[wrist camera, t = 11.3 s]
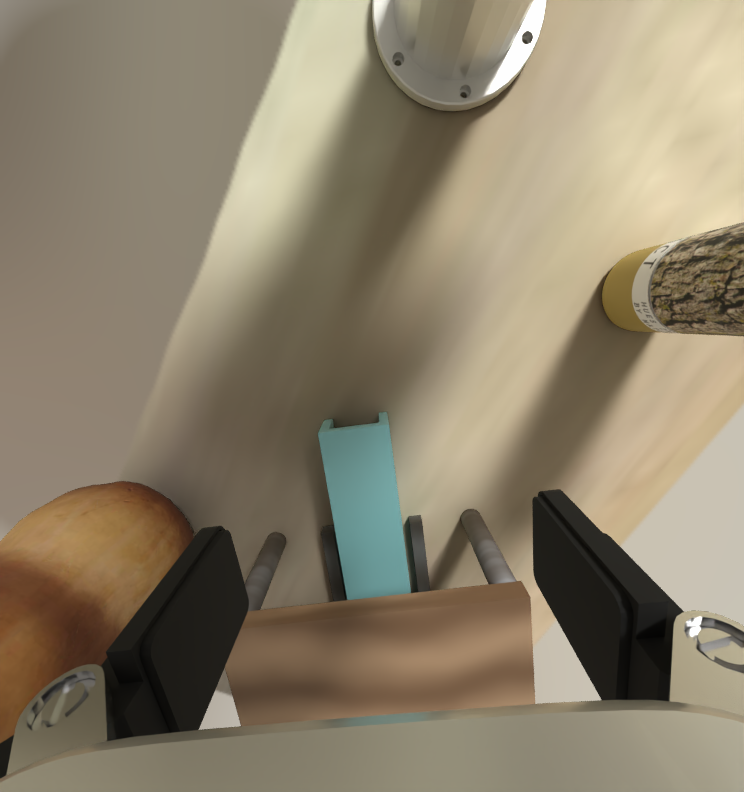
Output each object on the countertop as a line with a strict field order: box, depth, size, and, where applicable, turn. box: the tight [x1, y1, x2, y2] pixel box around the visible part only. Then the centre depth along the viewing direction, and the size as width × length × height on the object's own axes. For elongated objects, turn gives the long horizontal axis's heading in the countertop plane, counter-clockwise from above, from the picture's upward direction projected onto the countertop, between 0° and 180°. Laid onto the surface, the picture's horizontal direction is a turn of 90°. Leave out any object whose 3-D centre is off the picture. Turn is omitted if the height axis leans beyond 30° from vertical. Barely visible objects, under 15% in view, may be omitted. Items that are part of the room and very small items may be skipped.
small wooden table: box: [225, 509, 535, 726], centre depth 31 cm, size 13×22×12 cm, turn 98°
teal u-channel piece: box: [318, 412, 411, 600], centre depth 33 cm, size 22×6×4 cm, turn 8°
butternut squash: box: [0, 481, 194, 743], centre depth 23 cm, size 14×13×25 cm
